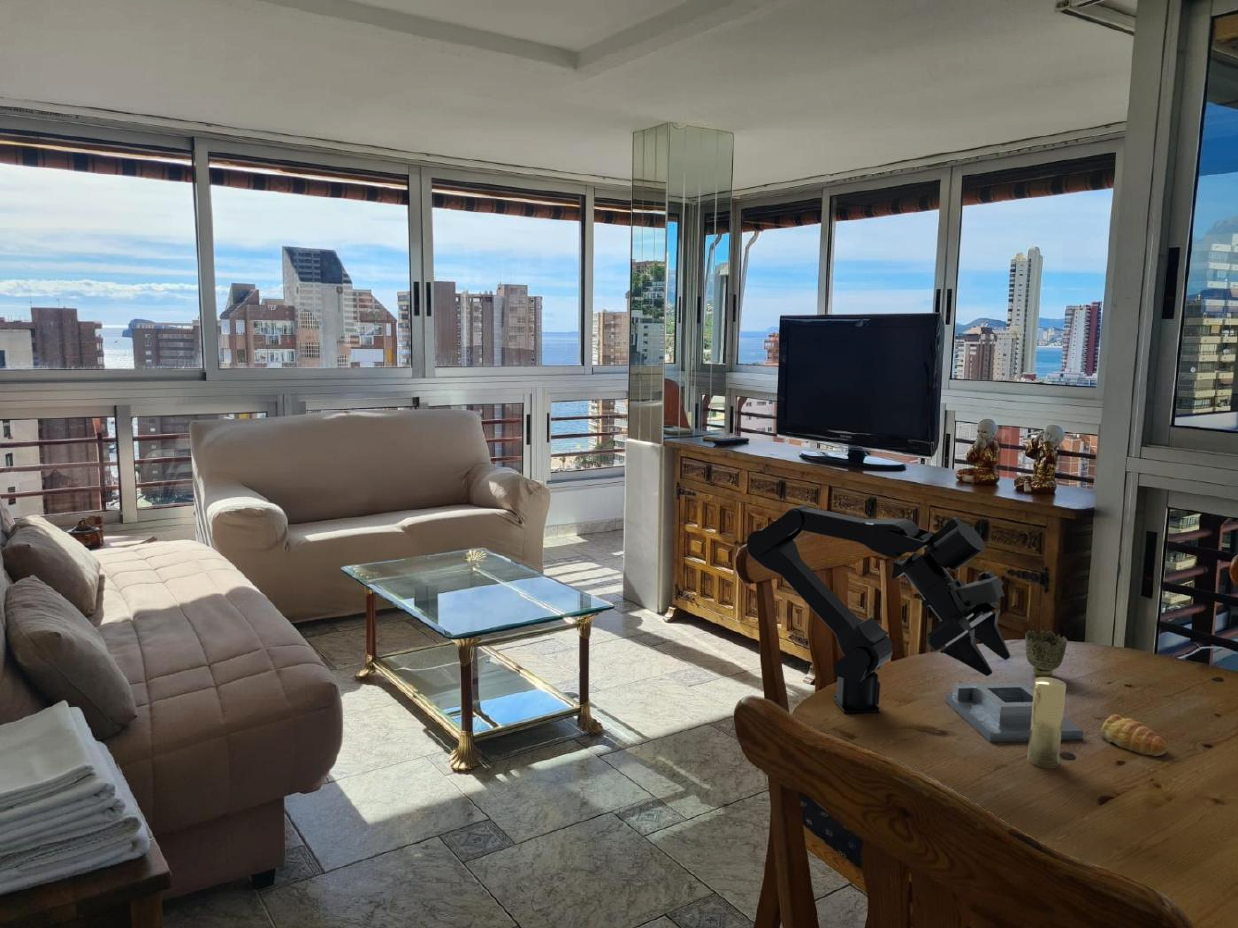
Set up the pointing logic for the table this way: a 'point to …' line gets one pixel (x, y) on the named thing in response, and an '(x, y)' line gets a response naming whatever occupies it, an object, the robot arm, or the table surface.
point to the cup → (1044, 652)
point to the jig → (1001, 710)
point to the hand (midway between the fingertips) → (999, 666)
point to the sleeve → (1046, 722)
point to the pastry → (1133, 736)
